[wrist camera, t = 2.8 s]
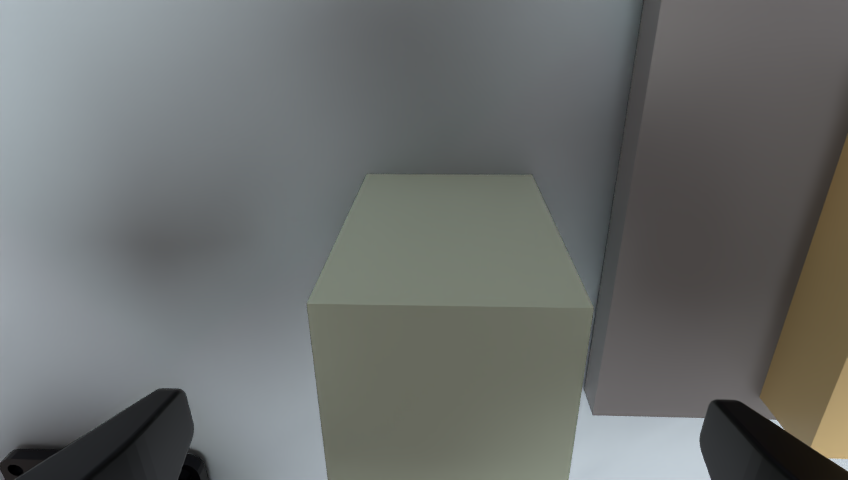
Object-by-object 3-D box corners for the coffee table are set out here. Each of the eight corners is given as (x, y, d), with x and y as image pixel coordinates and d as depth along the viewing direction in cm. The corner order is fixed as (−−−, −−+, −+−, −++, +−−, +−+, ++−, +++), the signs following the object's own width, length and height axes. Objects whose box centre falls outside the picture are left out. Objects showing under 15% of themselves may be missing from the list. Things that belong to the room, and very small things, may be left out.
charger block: (376, 342, 15) (335, 540, 10) (366, 173, 13) (306, 303, 7) (518, 344, 15) (558, 547, 9) (531, 174, 13) (594, 308, 7)
